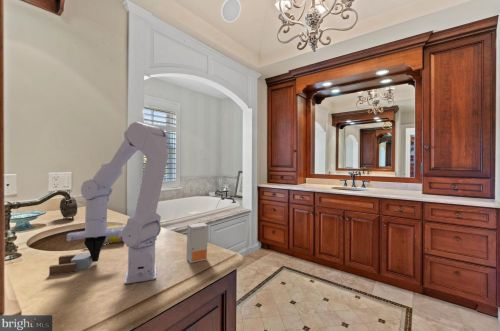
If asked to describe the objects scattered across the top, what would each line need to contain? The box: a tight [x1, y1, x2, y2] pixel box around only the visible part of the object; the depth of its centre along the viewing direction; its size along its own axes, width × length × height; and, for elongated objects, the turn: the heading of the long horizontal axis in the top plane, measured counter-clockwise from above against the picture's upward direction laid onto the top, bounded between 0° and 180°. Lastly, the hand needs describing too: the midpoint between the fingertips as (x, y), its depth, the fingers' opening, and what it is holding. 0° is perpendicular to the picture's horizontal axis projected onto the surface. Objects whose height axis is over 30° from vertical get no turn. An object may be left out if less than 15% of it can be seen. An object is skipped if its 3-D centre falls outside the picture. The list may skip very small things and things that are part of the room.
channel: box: [48, 253, 78, 277], centre depth 69 cm, size 8×6×2 cm
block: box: [71, 252, 94, 271], centre depth 71 cm, size 4×4×3 cm
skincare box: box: [186, 222, 209, 264], centre depth 78 cm, size 6×4×12 cm
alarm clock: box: [59, 189, 78, 221], centre depth 124 cm, size 11×5×16 cm, turn 58°
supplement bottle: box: [103, 224, 126, 245], centre depth 91 cm, size 7×7×13 cm
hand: (95, 260), depth 72 cm, fingers closed
